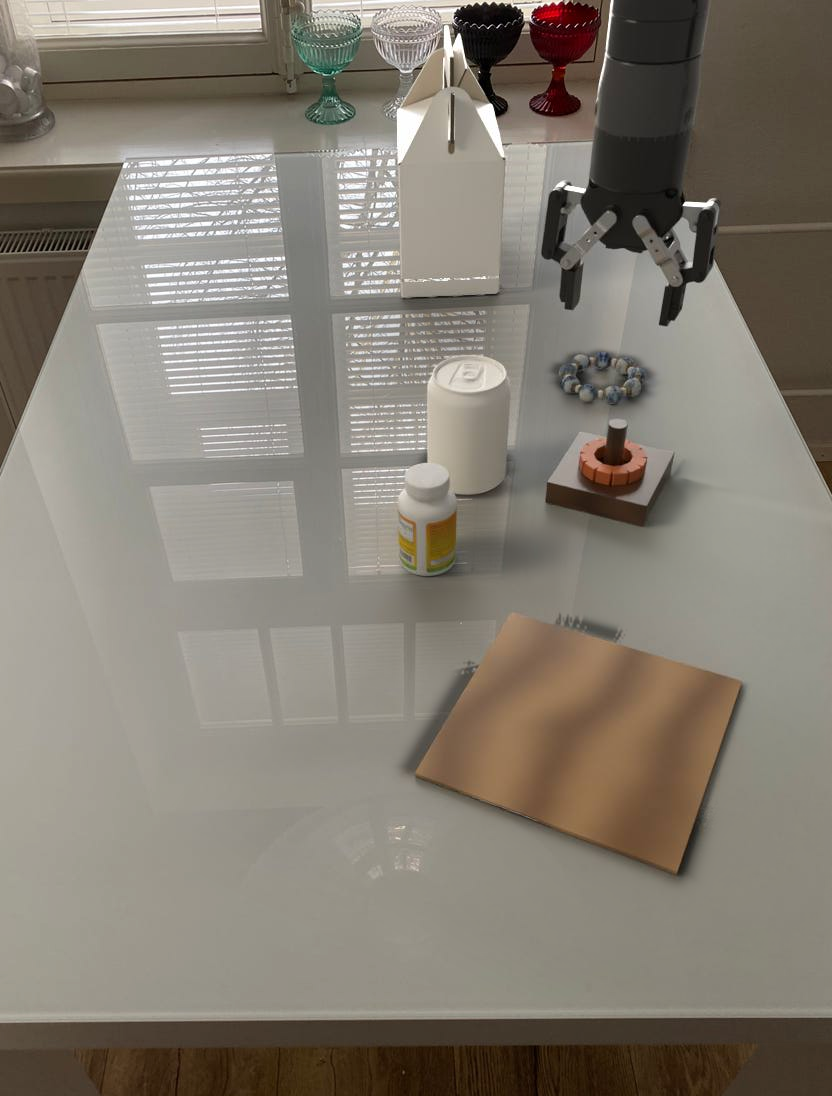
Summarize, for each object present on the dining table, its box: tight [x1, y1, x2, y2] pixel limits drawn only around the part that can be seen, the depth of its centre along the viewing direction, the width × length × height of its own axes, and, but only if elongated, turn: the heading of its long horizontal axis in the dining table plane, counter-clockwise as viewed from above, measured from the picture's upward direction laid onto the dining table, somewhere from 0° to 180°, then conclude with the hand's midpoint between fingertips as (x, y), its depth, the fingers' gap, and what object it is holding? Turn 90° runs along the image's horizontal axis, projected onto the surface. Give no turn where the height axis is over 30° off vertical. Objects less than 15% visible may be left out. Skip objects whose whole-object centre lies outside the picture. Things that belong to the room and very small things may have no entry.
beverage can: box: [426, 354, 512, 496], centre depth 100 cm, size 8×8×12 cm
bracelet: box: [558, 351, 646, 404], centre depth 115 cm, size 10×10×2 cm
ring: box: [579, 438, 647, 486], centre depth 99 cm, size 6×6×1 cm
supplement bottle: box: [397, 462, 458, 577], centre depth 91 cm, size 5×5×10 cm
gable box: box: [396, 25, 507, 298], centre depth 132 cm, size 22×13×28 cm, turn 179°
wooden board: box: [414, 611, 743, 876], centre depth 78 cm, size 20×20×1 cm
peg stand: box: [544, 418, 676, 528], centre depth 98 cm, size 10×10×8 cm
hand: (617, 314), depth 88 cm, fingers open, 8 cm apart
